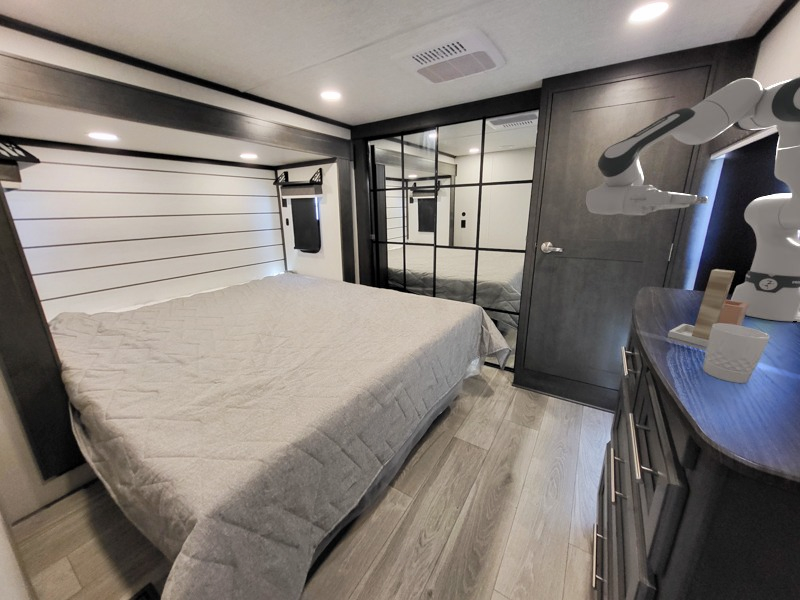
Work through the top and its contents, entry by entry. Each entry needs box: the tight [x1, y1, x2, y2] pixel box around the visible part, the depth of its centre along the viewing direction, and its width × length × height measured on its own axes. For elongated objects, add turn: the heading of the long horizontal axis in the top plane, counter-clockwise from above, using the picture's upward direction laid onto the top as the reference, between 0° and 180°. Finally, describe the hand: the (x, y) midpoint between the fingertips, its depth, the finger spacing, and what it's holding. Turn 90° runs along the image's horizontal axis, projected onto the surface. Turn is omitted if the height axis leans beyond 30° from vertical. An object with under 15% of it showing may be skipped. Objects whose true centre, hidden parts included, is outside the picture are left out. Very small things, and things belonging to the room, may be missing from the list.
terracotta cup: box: [718, 298, 749, 326], centre depth 86 cm, size 7×7×9 cm
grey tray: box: [666, 323, 708, 352], centre depth 79 cm, size 11×11×2 cm
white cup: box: [701, 323, 771, 384], centre depth 63 cm, size 8×8×10 cm
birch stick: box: [692, 268, 736, 340], centre depth 77 cm, size 3×3×18 cm
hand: (701, 199), depth 83 cm, fingers open, 8 cm apart
